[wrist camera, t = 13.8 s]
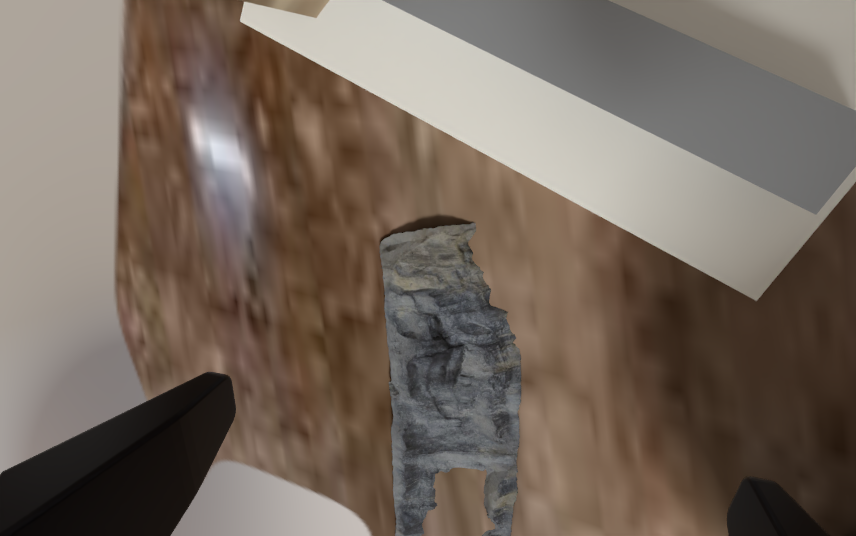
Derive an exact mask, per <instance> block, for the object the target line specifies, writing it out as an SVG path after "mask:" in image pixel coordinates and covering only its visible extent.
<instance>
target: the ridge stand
mask: <svg viewBox="0 0 856 536" xmlns="http://www.w3.org/2000/svg"><path fill="white" fill-rule="evenodd" d="M240 22H242V23H244V24H246V25H248V26H250V27H251V28H253V29H255V30H257V31H259V32H261V33H262V34H264V35H266V36H268V37H270V38H272V39H274V40H275V41H277V42H279V43H281V44H283V45H285V46H286V47H288V48H290V49H292V50H294V51H296V52H298V53H299V54H301V55H303V56H305V57H307V58H309V59H310V60H312V61H314V62H316V63H318V64H320V65H322V66H323V67H325V68H327V69H329V70H331V71H333V72H334V73H336V74H338V75H340V76H342V77H344V78H346V79H347V80H349V81H351V82H353V83H355V84H357V85H358V86H360V87H362V88H364V89H366V90H368V91H370V92H371V93H373V94H375V95H377V96H379V97H381V98H383V99H384V100H386V101H388V102H390V103H392V104H394V105H395V106H397V107H399V108H401V109H403V110H405V111H407V112H408V113H410V114H412V115H414V116H416V117H418V118H419V119H421V120H423V121H425V122H427V123H429V124H431V125H432V126H434V127H436V128H438V129H440V130H442V131H443V132H445V133H447V134H449V135H451V136H453V137H455V138H456V139H458V140H460V141H462V142H464V143H466V144H467V145H469V146H471V147H473V148H475V149H477V150H479V151H480V152H482V153H484V154H486V155H488V156H490V157H491V158H493V159H495V160H497V161H499V162H501V163H503V164H504V165H506V166H508V167H510V168H512V169H514V170H515V171H517V172H519V173H521V174H523V175H525V176H527V177H528V178H530V179H532V180H534V181H536V182H538V183H539V184H541V185H543V186H545V187H547V188H549V189H551V190H552V191H554V192H556V193H558V194H560V195H562V196H564V197H565V198H567V199H569V200H571V201H573V202H575V203H576V204H578V205H580V206H582V207H584V208H586V209H588V210H589V211H591V212H593V213H595V214H597V215H599V216H600V217H602V218H604V219H606V220H608V221H610V222H612V223H613V224H615V225H617V226H619V227H621V228H623V229H624V230H626V231H628V232H630V233H632V234H634V235H636V236H637V237H639V238H641V239H643V240H645V241H647V242H648V243H650V244H652V245H654V246H656V247H658V248H660V249H661V250H663V251H665V252H667V253H669V254H671V255H672V256H674V257H676V258H678V259H680V260H682V261H684V262H685V263H687V264H689V265H691V266H693V267H695V268H696V269H698V270H700V271H702V272H704V273H706V274H708V275H709V276H711V277H713V278H715V279H717V280H719V281H720V282H722V283H724V284H726V285H728V286H730V287H732V288H733V289H735V290H737V291H739V292H741V293H743V294H744V295H746V296H748V297H750V298H752V299H754V300H756V301H757V300H758V299H759V298H760V296H761V295H762V294H763V293H764V292H765V290H766V289H767V288H768V287H769V286H770V284H771V283H772V282H773V281H774V280H775V278H776V277H777V276H778V275H779V273H780V272H781V271H782V270H783V269H784V267H785V266H786V265H787V264H788V263H789V261H790V260H791V259H792V258H793V257H794V255H795V254H796V253H797V252H798V251H799V249H800V248H801V247H802V246H803V245H804V243H805V242H806V241H807V240H808V239H809V237H810V236H811V235H812V234H813V233H814V231H815V230H816V229H817V228H818V227H819V225H820V224H821V223H822V222H823V221H824V219H825V218H826V217H827V216H828V215H829V213H830V212H831V211H832V210H833V209H834V207H835V206H836V205H837V204H838V203H839V201H840V200H841V199H842V198H843V197H844V195H845V194H846V193H847V192H848V191H849V189H850V188H851V187H852V186H853V185H854V183H855V182H856V0H329V2H328V3H327V4H326V6H325V7H324V8H323V10H322V11H321V12H320V14H319V15H318V16H317V18H313V17H309V16H305V15H300V14H296V13H292V12H287V11H283V10H279V9H274V8H270V7H266V6H261V5H257V4H253V3H249V2H244V5H243V10H242V14H241V18H240Z"/></svg>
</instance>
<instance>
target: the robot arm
mask: <svg viewBox="0 0 856 536" xmlns="http://www.w3.org/2000/svg"><path fill="white" fill-rule="evenodd" d="M235 413H236V405H235V399H234V393H233V386H232V381H231V378H230V377H229V376H228V375H225V374H220V373H215V372H206V373H204V374H202V375H200V376H198V377H196V378H194V379H191V380H189V381H187V382H185V383H183V384H181V385H179V386H177V387H175V388H173V389H171V390H169V391H167V392H165V393H163V394H161V395H159V396H157V397H155V398H153V399H151V400H149V401H146V402H144V403H142V404H141V405H138V406H136V407H134V408H132V409H130V410H128V411H126V412H124V413H122V414H120V415H118V416H116V417H114V418H112V419H110V420H108V421H106V422H103V423H102V424H100V425H98V426H95V427H93V428H91V429H89V430H87V431H85V432H83V433H81V434H79V435H77V436H75V437H73V438H71V439H69V440H67V441H65V442H63V443H61V444H59V445H57V446H54V447H52V448H50V449H48V450H46V451H44V452H42V453H40V454H38V455H36V456H34V457H32V458H30V459H28V460H26V461H24V462H21V463H19V464H17V465H15V466H13V467H11V468H9V469H7V470H5V471H3V472H2V473H1V474H0V536H170V535H171V534H172V532H173V531H174V529H175V528H176V526H177V524H178V523H179V521H180V520H181V518H182V516H183V515H184V513H185V512H186V510H187V509H188V507H189V505H190V504H191V502H192V500H193V499H194V497H195V495H196V494H197V492H198V490H199V488H200V486H201V484H202V483H203V481H204V479H205V477H206V475H207V473H208V471H209V469H210V467H211V465H212V463H213V461H214V459H215V457H216V455H217V453H218V451H219V448H220V446H221V444H222V442H223V440H224V438H225V436H226V434H227V432H228V430H229V428H230V426H231V424H232V422H233V420H234V417H235ZM727 527H728V534H729V536H830V535H829V534H828V533H827V532H826V531H825V530H824V529H823V528H822V527H821V526H820V525H819V524H818V523H817V522H816V521H815V520H814V519H813V518H812V517H811V516H810V515H809V514H808V513H807V512H806V511H805V510H804V509H803V508H802V507H801V506H800V505H799V504H798V503H797V502H796V501H795V500H794V499H793V498H792V497H791V496H790V495H789V494H788V493H787V492H786V491H785V490H784V489H783V488H782V487H781V486H779V485H778V484H777V483H776V482H774V481H771V480H767V479H762V478H757V477H751V476H749V477H745V478H744V479H743V480H742V482H741V484H740V486H739V488H738V490H737V492H736V494H735V496H734V498H733V500H732V503H731V505H730V507H729V509H728V513H727Z"/></svg>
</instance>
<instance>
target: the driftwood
mask: <svg viewBox="0 0 856 536" xmlns="http://www.w3.org/2000/svg"><path fill="white" fill-rule="evenodd" d="M475 232H476V224H475V223H472V224H470V225H469V224H466V225H465V224H462V225H452V226H447V225H446V226H438V227H437V228H434V229H432V228H429V229H426V228H423V230H421V229H420V230H417V231H415V232H404V233H397V234H393V235H390V237H387V238H385V239H384V240H382V241H381V244H380V254H381V255H380V258H381V261H382V262H381V264H382V269H383V280H384V289H385V293H384V294H385V308H384V309H385V313H386V314H385V318H386V320H387V321H386V329H387V343H388V347H389V357H390V364H391V366H390V367H391V379H392V381H390V382H389V388H390V389H389V390H390V393H391V395H390V396H391V399H392V400H391V405H392V410H393V424H392V427H391V429H392V430H391V437H392V450H393V451H392V453H393V456H392V457H393V461H392V465H393V466H394V467H393V472H392V473H393V478H394V480H393V485H394V486H393V491H394V502H395V504H394V506H395V514H396V518H397V519H396V524H397V525H396V534H395V536H421V535H422V534H424V531H423V528H422V523H423V520H424V518H425V517H426V514H427V511H428V510H433V509H435V507H436V506H437V504H436V503H435V502H434V499H435V489H434V488H433V485H434V481H435V473H438V472H439V471H443V472H449V471H450V469H452V468H455V467H462V468H470V469H478V470H481V471H484V470H485V469H486V471H487V476H486V480H485V486H484V494H485V499H484V506H485V508H486V510H487V513H488V514H487V516H488V518H490V519H491V521H492V522H493V523H494V524H495V529H494V530H489V531H486V532H485V533H484V534H483V535H482V536H511V535H510V533H511V524H512V517H513V515H512V513H513V506H514V502H515V501H516V495H517V493H518V491H517V489H518V488H517V483H516V481H517V477H516V473H517V472H518V470H517V465H516V459H517V449H518V447H519V437H520V436H519V417H518V414H517V412H518V410H519V405H520V402H521V400H520V397H521V385H520V382H521V365H520V360H521V356H520V351H519V348H517V347H516V346H515V344H514V343H513V341H514V340H515V339H516V337H515V335H514V334H513V333H512V332H511V331H510V328H509V324H508V323H507V320H506V317H507V313H508V312H506V311H504V310H502V309H499V308H497V307H493V306H491V305H490V303H489V297H490V292H491V289H490V288H489V286H488V285H487V284H486V283H485V281H484V280H483V271H481V270H480V267H478V266H477V265H476V264H475V263H474V262H473V261H472V255H473V252H472V250H471V249H470V247H469V246H468V241H469V240H470V239H471V237H472V236H473V235H474V233H475Z"/></svg>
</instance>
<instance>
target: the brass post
mask: <svg viewBox="0 0 856 536" xmlns="http://www.w3.org/2000/svg"><path fill="white" fill-rule="evenodd" d="M240 1H244V2H249V3H253V4H257V5H261V6H266V7H270V8H274V9H279V10H283V11H287V12H292V13H296V14H300V15H305V16H309V17H313V18H317V16H318V15H319V14H320V12H321V11H322V10H323V8H324V7H325V6H326V4H327V3H328V2H329V0H240Z"/></svg>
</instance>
